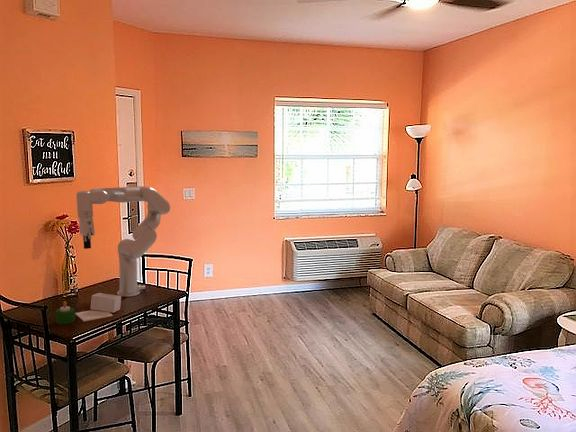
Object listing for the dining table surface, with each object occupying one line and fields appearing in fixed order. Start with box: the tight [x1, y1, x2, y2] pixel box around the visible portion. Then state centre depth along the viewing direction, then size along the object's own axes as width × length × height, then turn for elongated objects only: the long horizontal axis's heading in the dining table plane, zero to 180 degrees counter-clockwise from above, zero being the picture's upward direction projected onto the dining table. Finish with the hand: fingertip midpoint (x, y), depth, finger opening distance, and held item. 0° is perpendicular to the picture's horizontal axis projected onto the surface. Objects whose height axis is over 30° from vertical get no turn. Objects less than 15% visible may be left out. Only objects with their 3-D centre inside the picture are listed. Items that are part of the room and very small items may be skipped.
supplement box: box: [90, 292, 122, 314], centre depth 255 cm, size 7×7×13 cm
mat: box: [75, 309, 114, 322], centre depth 248 cm, size 14×13×1 cm
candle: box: [55, 300, 76, 325], centre depth 238 cm, size 8×8×10 cm
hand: (87, 248), depth 266 cm, fingers closed
